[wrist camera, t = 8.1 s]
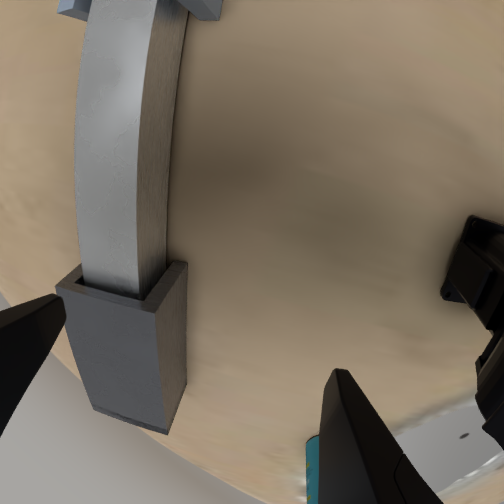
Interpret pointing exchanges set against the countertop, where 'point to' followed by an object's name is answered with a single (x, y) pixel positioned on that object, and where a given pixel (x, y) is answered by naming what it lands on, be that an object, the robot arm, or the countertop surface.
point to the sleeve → (130, 347)
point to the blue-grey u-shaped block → (198, 3)
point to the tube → (312, 470)
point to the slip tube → (126, 141)
